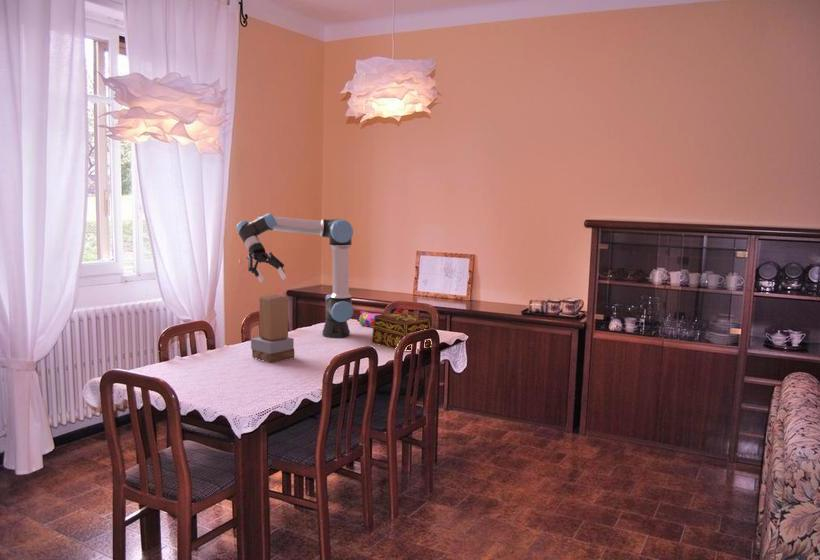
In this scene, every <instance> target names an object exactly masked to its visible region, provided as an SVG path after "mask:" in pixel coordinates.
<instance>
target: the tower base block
mask: <svg viewBox="0 0 820 560" xmlns="http://www.w3.org/2000/svg"><path fill="white" fill-rule="evenodd" d="M251 355H252V356H251V357H254V358H253V359H255V358H257V359H256V360H258V359H260V360H259V361H261V360H264V361H263V362H265V361H266V362H265V363H268V362H269V364H272V362H273V363H277V361H278V362H282V361H281V360H283V361H287V360H291V359H290V358H292V359H295V348H294V349H290V350H286V351H281V352H277V353H272V354H269V353H265V352H261V351H257V350H253V349H251ZM286 359H287V360H286Z"/></svg>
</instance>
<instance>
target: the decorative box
mask: <svg viewBox="0 0 820 560" xmlns="http://www.w3.org/2000/svg"><path fill="white" fill-rule="evenodd" d="M382 314H383V313H382ZM424 329H431V319H429V318H426V317H421V316H416V315H413V314H412V315H411V314H408V313H404V312H403V313H396V312H390V313H384V314H383V315H376V316H375V317H374V325H373V327H372V335H371V343H372V344H375V345H378V344H380V345H379V346H382V345H383V346H382V347H385V346H386V348H388V349H392V350H395V348H396V347H397V344H398V343H399V341H400V340H401V339H402V338H403V337H404V336H406V335H408V334H410V333H414V332H417V331H420V330H424ZM431 341H432V340H431ZM431 341H430V340H426V342H425V347H430V346H431ZM406 350H411V345H410V346H408V347H407V349H406Z"/></svg>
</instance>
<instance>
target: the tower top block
mask: <svg viewBox="0 0 820 560" xmlns="http://www.w3.org/2000/svg"><path fill="white" fill-rule="evenodd" d="M294 343H295V342H294V338H292V337H289V336H288V338H286V339H280V340H275V341H270V340H266V339H263V338H260V336H259V337H253V338H250V349H251V350H252V349H253V350H257V351H261V352H265V353H269V354H272V353H277V352H281V351H286V350H290V349H294V350H295V348H294Z"/></svg>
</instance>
